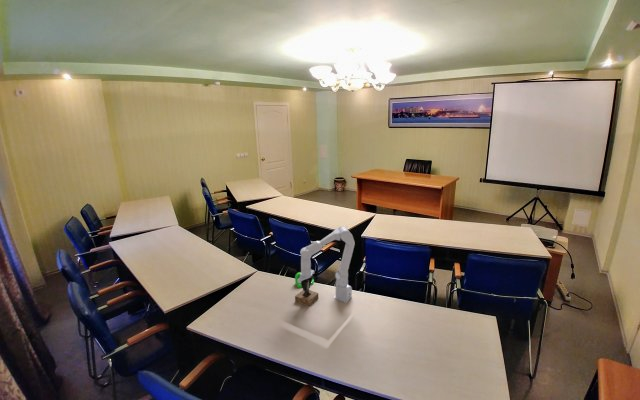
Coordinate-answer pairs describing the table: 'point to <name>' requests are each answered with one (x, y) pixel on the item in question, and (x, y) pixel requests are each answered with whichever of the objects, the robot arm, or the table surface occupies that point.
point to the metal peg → (307, 288)
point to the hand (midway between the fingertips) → (306, 289)
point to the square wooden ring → (306, 297)
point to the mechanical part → (298, 278)
